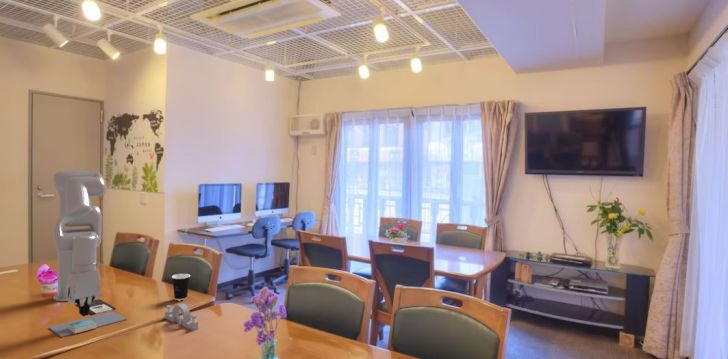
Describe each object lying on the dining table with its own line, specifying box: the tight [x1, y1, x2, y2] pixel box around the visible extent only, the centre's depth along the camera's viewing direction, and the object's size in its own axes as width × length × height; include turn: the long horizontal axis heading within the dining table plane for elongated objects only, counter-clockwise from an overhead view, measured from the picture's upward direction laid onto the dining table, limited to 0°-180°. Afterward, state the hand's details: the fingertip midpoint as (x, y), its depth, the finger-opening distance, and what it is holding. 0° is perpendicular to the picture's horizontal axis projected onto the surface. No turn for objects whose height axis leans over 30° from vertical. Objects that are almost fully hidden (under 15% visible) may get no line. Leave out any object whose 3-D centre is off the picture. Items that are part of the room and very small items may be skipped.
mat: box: [48, 310, 128, 338], centre depth 158 cm, size 13×22×1 cm, turn 144°
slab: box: [69, 320, 98, 334], centre depth 153 cm, size 7×2×6 cm
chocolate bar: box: [75, 298, 117, 316], centre depth 176 cm, size 9×1×18 cm
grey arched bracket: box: [164, 303, 199, 331], centre depth 161 cm, size 20×2×8 cm, turn 55°
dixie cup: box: [171, 273, 191, 301], centre depth 189 cm, size 8×8×11 cm
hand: (84, 314), depth 156 cm, fingers closed
